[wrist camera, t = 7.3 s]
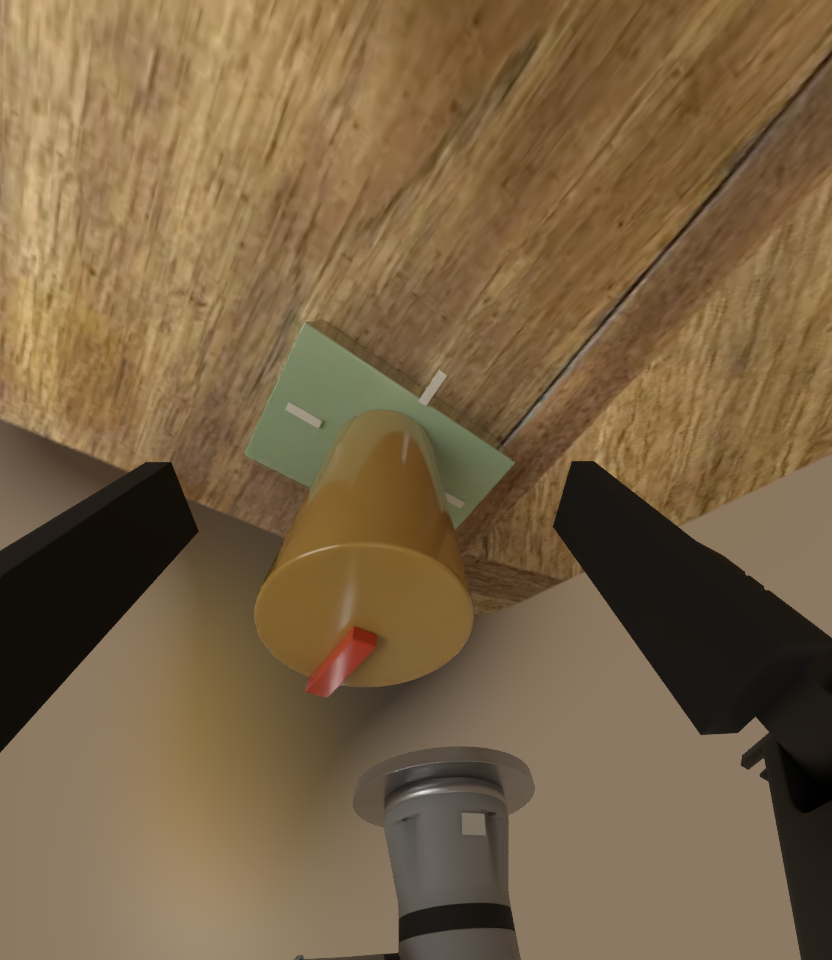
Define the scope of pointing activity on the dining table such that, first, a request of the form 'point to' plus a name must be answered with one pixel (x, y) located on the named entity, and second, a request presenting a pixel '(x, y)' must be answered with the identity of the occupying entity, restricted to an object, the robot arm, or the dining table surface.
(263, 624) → the dial
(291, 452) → the dial panel
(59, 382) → the dining table surface
